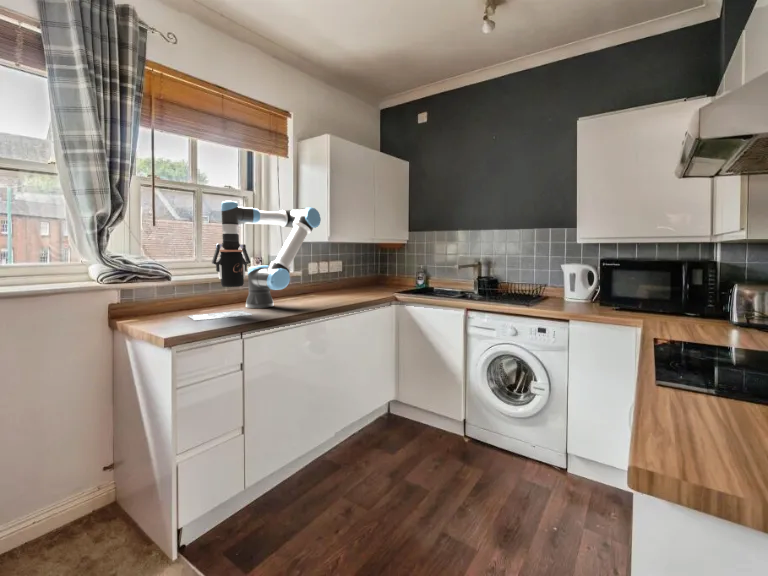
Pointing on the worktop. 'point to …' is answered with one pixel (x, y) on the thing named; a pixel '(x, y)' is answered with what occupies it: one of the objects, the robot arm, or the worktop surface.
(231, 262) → the coffee jar
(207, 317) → the label board
